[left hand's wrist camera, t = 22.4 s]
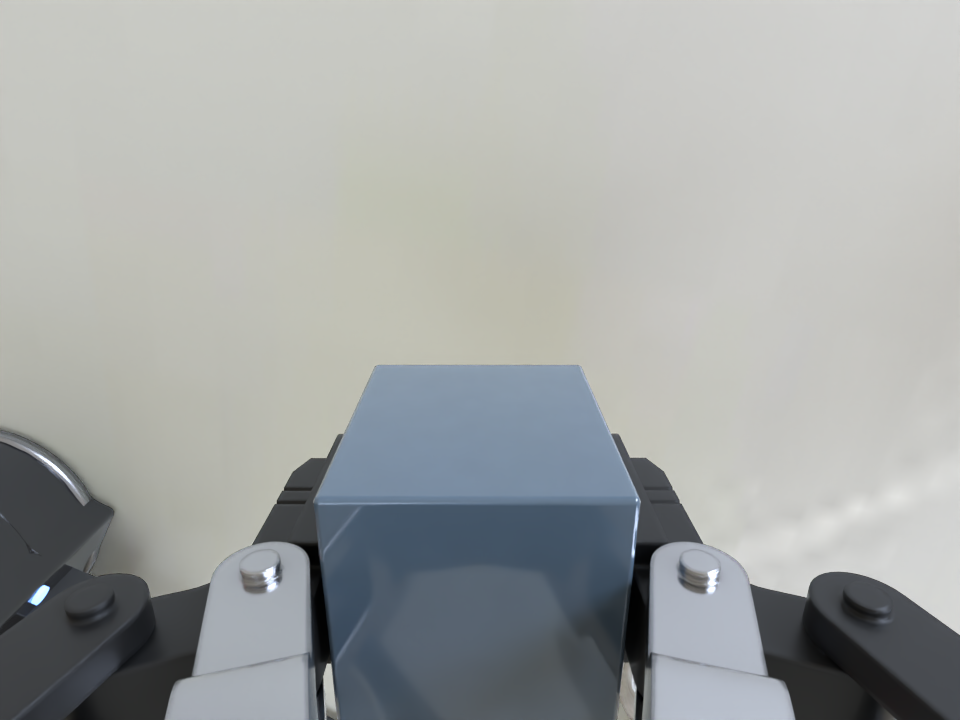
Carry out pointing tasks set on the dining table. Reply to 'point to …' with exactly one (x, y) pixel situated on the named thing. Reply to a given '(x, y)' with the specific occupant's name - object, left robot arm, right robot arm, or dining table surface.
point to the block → (477, 547)
